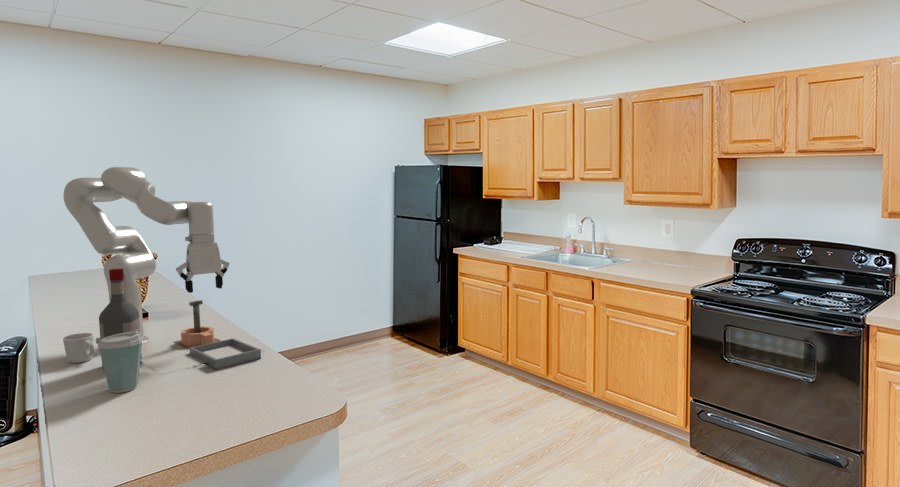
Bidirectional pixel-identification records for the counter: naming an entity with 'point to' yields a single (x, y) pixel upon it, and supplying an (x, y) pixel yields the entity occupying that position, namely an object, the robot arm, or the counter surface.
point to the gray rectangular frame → (230, 360)
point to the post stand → (195, 322)
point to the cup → (79, 347)
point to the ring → (197, 336)
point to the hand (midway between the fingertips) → (204, 290)
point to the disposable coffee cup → (121, 360)
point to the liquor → (118, 310)
